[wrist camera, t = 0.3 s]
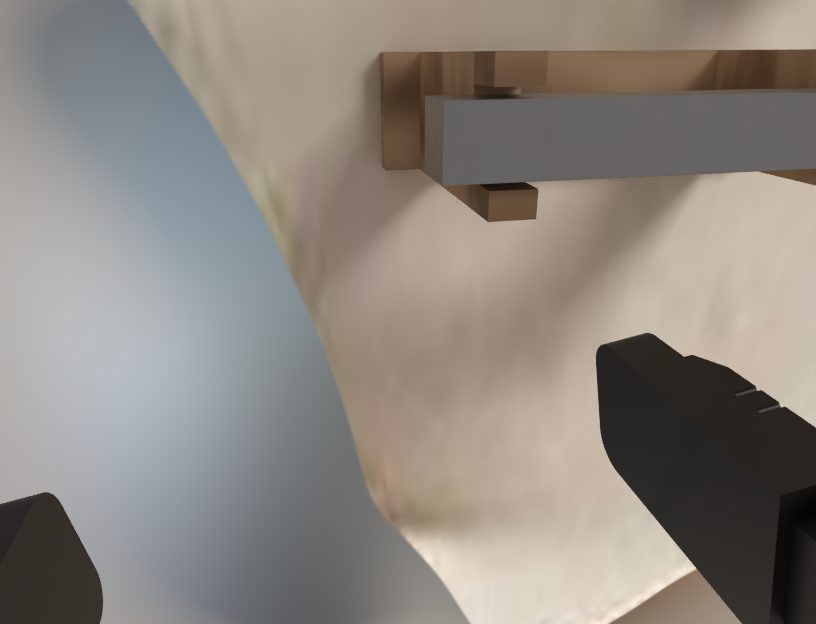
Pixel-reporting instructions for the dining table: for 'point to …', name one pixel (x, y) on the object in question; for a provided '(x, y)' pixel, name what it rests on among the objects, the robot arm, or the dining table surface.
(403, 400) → the dining table surface
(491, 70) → the rack
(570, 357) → the dining table surface
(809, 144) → the rail
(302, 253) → the dining table surface
